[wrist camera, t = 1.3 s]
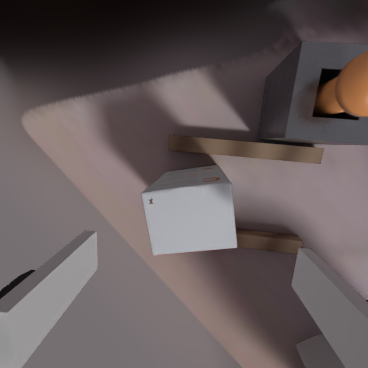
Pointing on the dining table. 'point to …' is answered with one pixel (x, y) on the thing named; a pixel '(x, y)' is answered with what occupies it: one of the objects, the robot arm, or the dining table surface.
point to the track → (253, 150)
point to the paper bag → (318, 353)
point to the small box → (190, 211)
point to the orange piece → (345, 91)
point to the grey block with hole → (309, 97)
